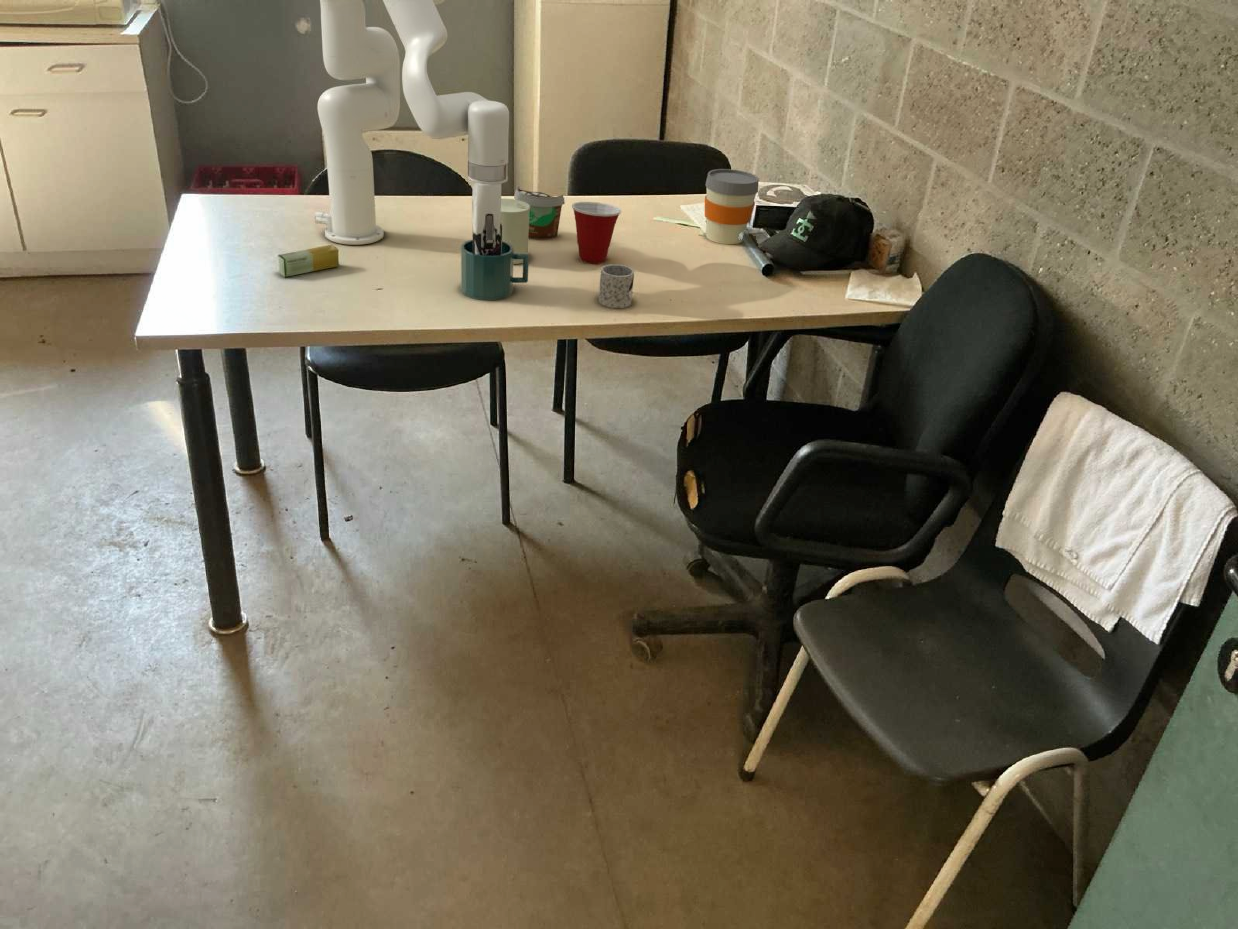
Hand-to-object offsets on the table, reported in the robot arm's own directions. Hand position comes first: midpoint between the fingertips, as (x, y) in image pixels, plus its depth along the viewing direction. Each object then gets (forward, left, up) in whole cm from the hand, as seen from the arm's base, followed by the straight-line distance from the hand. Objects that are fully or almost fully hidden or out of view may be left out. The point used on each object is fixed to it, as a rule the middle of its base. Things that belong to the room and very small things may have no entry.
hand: (486, 263), depth 192 cm
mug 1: (+2, +1, -6) cm, 6 cm away
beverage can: (0, 0, -3) cm, 3 cm away
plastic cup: (+17, +26, -6) cm, 32 cm away
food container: (+1, +36, -6) cm, 36 cm away
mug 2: (+25, +5, -6) cm, 26 cm away
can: (-1, +20, -6) cm, 21 cm away
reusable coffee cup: (+45, +53, -6) cm, 69 cm away
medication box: (-36, -3, -6) cm, 37 cm away
